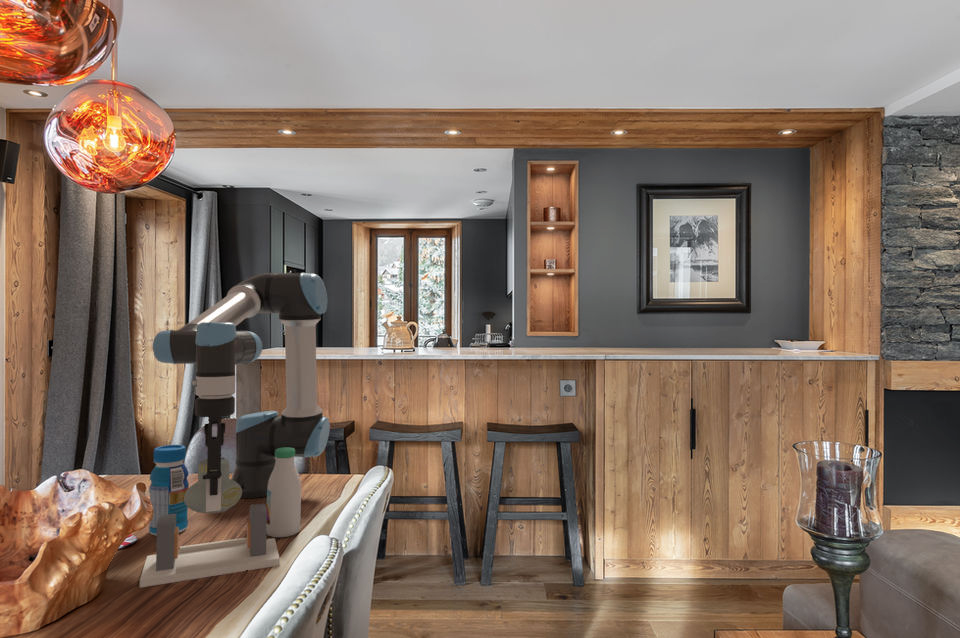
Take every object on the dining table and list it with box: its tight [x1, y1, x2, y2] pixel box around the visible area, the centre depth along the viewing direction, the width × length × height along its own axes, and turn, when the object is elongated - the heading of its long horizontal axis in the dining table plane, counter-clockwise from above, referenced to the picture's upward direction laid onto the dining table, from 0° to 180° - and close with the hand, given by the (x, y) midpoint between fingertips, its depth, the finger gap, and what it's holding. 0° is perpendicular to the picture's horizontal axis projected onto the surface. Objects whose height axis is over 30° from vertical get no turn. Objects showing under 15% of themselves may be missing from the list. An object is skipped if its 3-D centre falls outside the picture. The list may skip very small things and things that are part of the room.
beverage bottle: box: [148, 444, 190, 537], centre depth 137 cm, size 8×8×20 cm
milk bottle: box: [266, 447, 302, 539], centre depth 136 cm, size 8×8×20 cm
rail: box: [139, 503, 281, 588], centre depth 118 cm, size 12×25×10 cm, turn 114°
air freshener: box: [184, 457, 242, 514], centre depth 118 cm, size 11×8×10 cm
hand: (213, 502), depth 118 cm, fingers closed on air freshener, 11 cm apart
